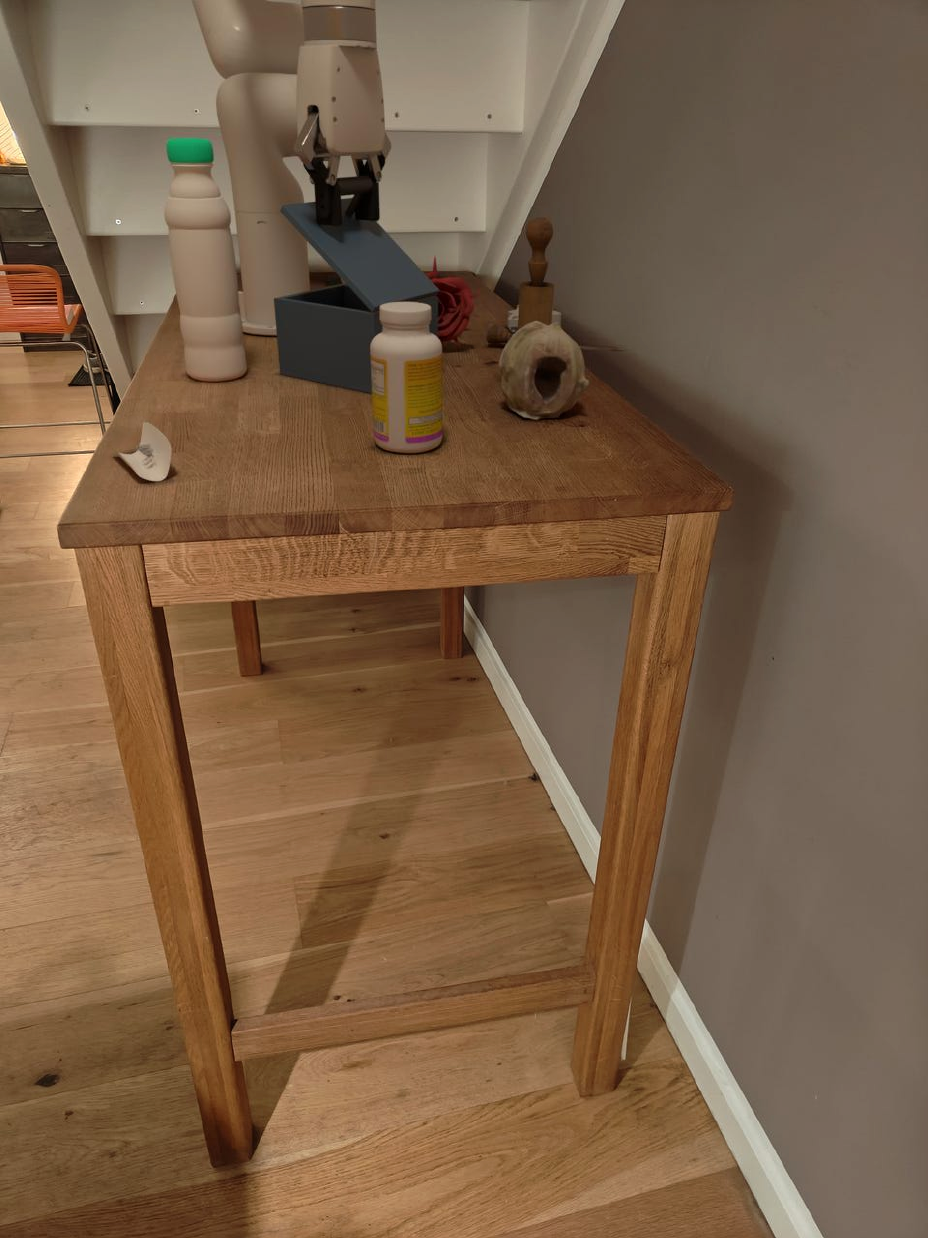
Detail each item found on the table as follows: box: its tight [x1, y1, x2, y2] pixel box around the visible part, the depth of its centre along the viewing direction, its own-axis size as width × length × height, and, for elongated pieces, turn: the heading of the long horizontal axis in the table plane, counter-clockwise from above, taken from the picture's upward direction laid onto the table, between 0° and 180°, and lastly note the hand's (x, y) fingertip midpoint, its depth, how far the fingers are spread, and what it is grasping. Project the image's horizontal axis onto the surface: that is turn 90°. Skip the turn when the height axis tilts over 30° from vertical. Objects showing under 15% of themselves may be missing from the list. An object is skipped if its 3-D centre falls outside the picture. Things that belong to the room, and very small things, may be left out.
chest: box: [274, 284, 438, 394], centre depth 106 cm, size 15×13×9 cm
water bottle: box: [163, 137, 248, 383], centre depth 99 cm, size 7×7×25 cm
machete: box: [486, 322, 629, 353], centre depth 120 cm, size 21×3×5 cm
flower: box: [424, 256, 482, 350], centre depth 126 cm, size 13×12×30 cm
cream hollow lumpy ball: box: [498, 321, 590, 421], centre depth 93 cm, size 9×8×10 cm
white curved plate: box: [109, 421, 173, 482], centre depth 78 cm, size 4×8×3 cm
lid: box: [280, 175, 440, 312], centre depth 99 cm, size 15×13×6 cm
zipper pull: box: [506, 304, 562, 333], centre depth 125 cm, size 8×18×4 cm, turn 168°
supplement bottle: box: [370, 302, 443, 454], centre depth 82 cm, size 7×7×13 cm
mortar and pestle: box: [518, 217, 555, 330], centre depth 101 cm, size 7×6×18 cm
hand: (348, 220), depth 100 cm, fingers closed on lid, 6 cm apart
